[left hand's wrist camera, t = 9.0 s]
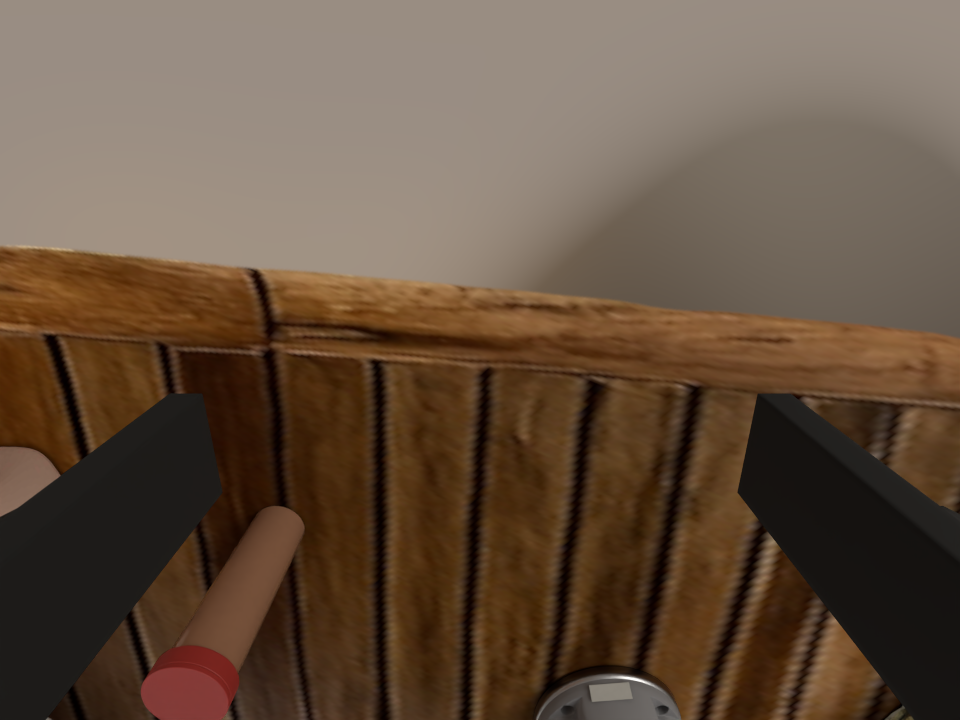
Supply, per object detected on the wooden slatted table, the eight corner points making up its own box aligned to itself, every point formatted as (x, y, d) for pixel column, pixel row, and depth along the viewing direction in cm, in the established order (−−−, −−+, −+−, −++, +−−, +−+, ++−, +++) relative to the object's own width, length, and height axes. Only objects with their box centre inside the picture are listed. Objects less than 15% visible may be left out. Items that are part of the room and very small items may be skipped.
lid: (235, 647, 33) (224, 669, 31) (243, 706, 35) (232, 730, 33) (149, 642, 33) (133, 665, 31) (161, 702, 35) (147, 726, 33)
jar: (303, 507, 47) (222, 667, 32) (305, 548, 48) (229, 719, 34) (251, 504, 47) (145, 663, 32) (255, 545, 48) (156, 715, 34)
